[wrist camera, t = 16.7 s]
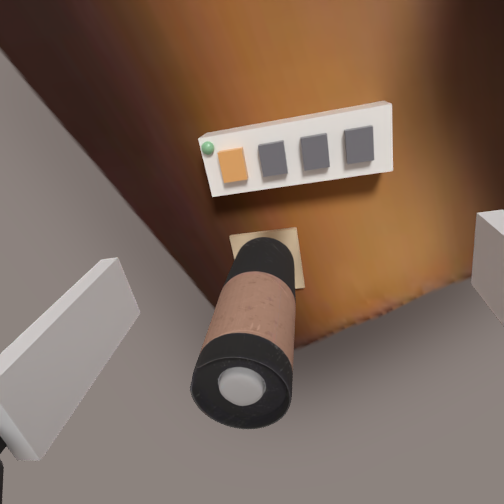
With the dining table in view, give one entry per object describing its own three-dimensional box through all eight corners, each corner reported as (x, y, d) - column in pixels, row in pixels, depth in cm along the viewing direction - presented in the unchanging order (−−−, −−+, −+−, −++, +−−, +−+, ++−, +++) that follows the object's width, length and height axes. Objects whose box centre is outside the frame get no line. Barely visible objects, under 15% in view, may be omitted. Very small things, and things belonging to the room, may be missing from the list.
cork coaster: (296, 227, 41) (296, 229, 41) (304, 285, 45) (304, 287, 44) (230, 235, 43) (229, 237, 42) (243, 290, 46) (242, 293, 46)
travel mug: (307, 276, 44) (310, 417, 26) (252, 297, 46) (221, 439, 28) (279, 224, 41) (261, 341, 23) (222, 249, 43) (168, 373, 26)
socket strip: (384, 100, 34) (394, 104, 30) (385, 162, 37) (395, 173, 33) (206, 132, 38) (195, 140, 34) (219, 187, 40) (210, 199, 36)
